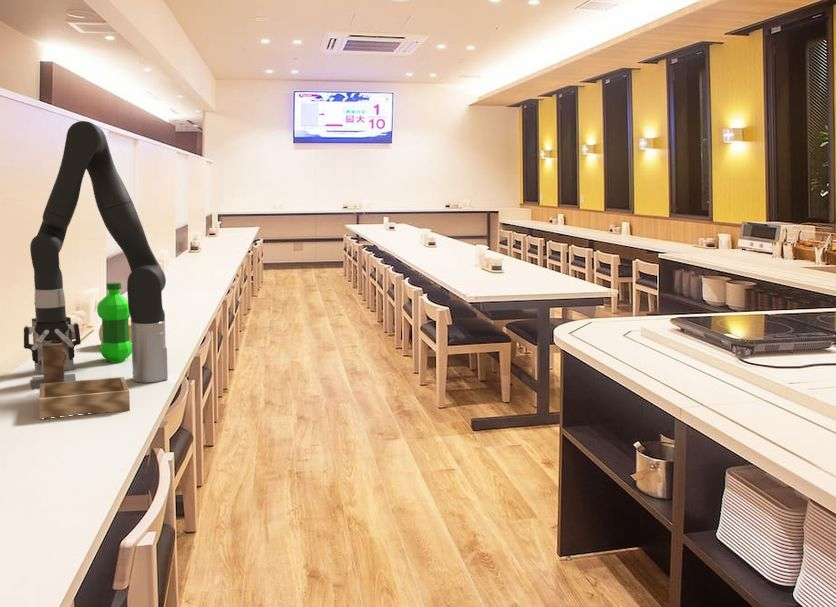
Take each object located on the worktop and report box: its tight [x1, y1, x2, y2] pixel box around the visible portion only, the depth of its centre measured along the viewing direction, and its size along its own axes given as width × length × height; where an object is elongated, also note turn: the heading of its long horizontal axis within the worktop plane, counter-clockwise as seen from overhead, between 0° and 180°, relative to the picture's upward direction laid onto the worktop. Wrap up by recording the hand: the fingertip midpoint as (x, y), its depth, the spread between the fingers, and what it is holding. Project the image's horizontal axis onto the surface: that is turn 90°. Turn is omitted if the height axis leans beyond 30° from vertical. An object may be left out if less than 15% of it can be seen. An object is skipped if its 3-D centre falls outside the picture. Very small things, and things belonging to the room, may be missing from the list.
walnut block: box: [42, 343, 65, 383], centre depth 203 cm, size 5×5×10 cm
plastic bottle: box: [96, 282, 132, 363], centre depth 229 cm, size 10×10×25 cm
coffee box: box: [31, 315, 75, 375], centre depth 216 cm, size 9×6×16 cm
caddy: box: [38, 376, 131, 420], centre depth 182 cm, size 20×15×5 cm
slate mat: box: [31, 373, 77, 390], centre depth 204 cm, size 11×11×1 cm
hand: (53, 361), depth 203 cm, fingers open, 8 cm apart
